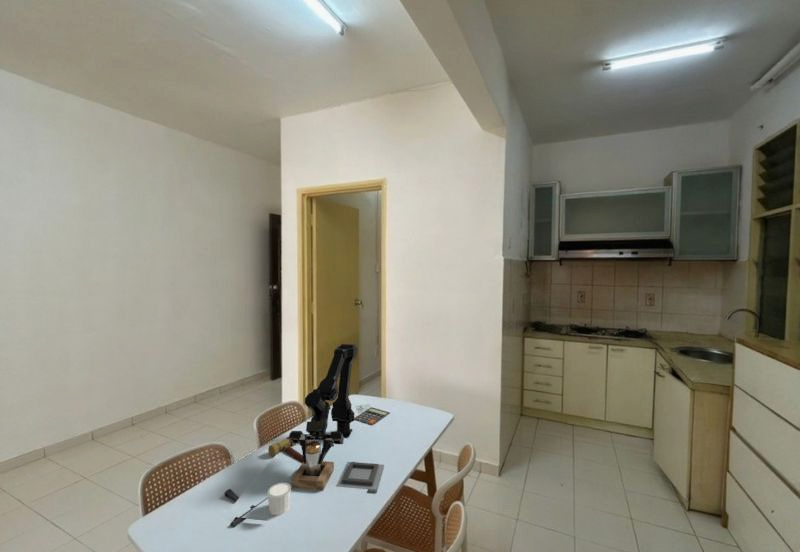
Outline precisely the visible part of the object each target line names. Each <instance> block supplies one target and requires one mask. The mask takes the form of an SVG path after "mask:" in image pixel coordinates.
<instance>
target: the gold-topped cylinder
mask: <svg viewBox="0 0 800 552" xmlns="http://www.w3.org/2000/svg"><path fill="white" fill-rule="evenodd" d="M321 451H322V447H321V442H320V441H319V440H310V441H309V442H307V444H306V476H317V477H319V476H320V474H321V464H319V460H320V455H321Z"/></svg>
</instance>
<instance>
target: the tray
mask: <svg viewBox="0 0 800 552" xmlns="http://www.w3.org/2000/svg"><path fill="white" fill-rule="evenodd" d="M384 469H385V464H382V463H371V462H370V463H369V462H356V461H347V463H346V464H345V466H344V468H343V471H342V472H341V475H340V477H339V478H338V479H339V480H338V481H337V483H336V485H335V487H337V488H338V487H340V488H350V489H353V488H354V489H360V490H367V491H366V492H367V493H375V492H377V493H378V490H379V487H380V484H381V480H382V477H381V476H383V473H384ZM379 483H380V484H379Z"/></svg>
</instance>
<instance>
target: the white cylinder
mask: <svg viewBox="0 0 800 552" xmlns="http://www.w3.org/2000/svg"><path fill="white" fill-rule="evenodd" d="M291 491H292V485H291V484H290V483H288V482H278V483H276V484H273V485H271V486H270V487H269V488H268V489H267V501H268V502H267V503H268V509H269V512H270V514H271V515H273V516H282V515H283V514H285V513H287V512H288V510H290V505H291V504H290V503H291Z"/></svg>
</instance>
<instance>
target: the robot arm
mask: <svg viewBox="0 0 800 552" xmlns="http://www.w3.org/2000/svg"><path fill="white" fill-rule="evenodd" d="M358 351H359V349H358V346H356V344H355V343H354V344H353V343H351V344H350V343H341V344H340V345H338V346H336V347H335V349H334V351H333V356H332V359H331V362H330V365H329V368H328V371H327V373H326V375H325V378H323V379H322V380H321V381H320V383H319V384H318V387H317V388H314V389H313V390H312V392H309V393H307V395H306V397H305V399H304V404H305V406H306V407H307V408H308V409H309V410H310V411H311V412H312V417H311V419H310V421H306V428H305V432H307V433H308V434H305V433H304V432H303V431H302V430H291V432H289V436H288V437H289V438H288V439H289V440H290V441H291V442H292V443H296V444H299V446H300V447H301V452H302V455H303V463H304V464H306V444H307V443H308V441H322V447H321V455H320V460H319V464H321V463H322V461H324V460H325V458H326V456H327V454H328V452H329V451H330V449H331V448H332V447H335V445H343V444H344V442H345V438H350V436H351V434H352V432H353V429H352V428H351V423H352V422H355V420H354V418H355V412H354V410H353V409H352V403H351V400H350V398H349V397H350V395H349V394H350V387H351V385H350V384H351V378H352V377H351V375H352V367H353V363H354V362H355V360H357V359H356V358H357V356H358ZM338 380H339V382H338ZM328 401H329V402H332V407H331V404H329V402H328ZM330 411H331V412H330ZM329 415H331V420H332V422H336V431H331V432H330V434H326V433H327V428H328V425H329V423H328V422H329V421H328V420H329Z"/></svg>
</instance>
